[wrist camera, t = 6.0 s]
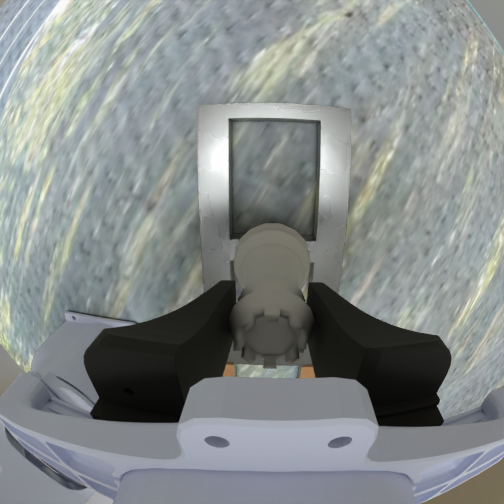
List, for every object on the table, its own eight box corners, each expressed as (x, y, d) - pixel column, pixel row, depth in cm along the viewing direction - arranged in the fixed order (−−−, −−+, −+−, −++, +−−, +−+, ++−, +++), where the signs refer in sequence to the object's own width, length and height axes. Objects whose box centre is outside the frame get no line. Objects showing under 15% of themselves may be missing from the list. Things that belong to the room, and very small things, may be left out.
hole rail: (220, 409, 27) (218, 420, 25) (203, 109, 17) (197, 105, 15) (308, 412, 26) (310, 423, 24) (344, 112, 16) (351, 108, 15)
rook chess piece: (283, 205, 15) (295, 261, 8) (322, 266, 16) (353, 354, 9) (220, 246, 16) (181, 324, 9) (261, 300, 18) (253, 397, 10)
